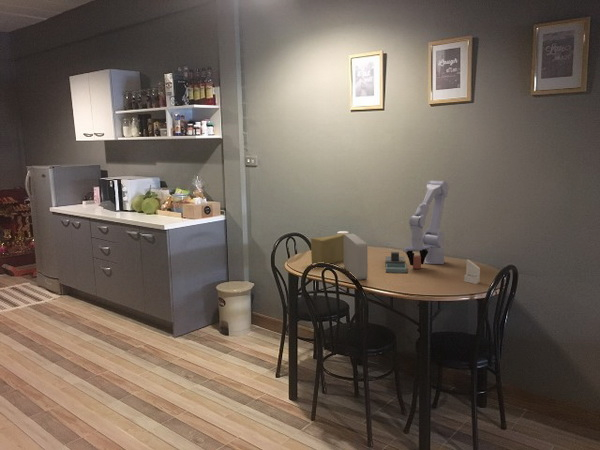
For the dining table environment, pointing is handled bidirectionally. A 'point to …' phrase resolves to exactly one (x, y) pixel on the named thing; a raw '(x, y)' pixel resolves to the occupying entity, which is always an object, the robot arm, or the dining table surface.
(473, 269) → the white wedge bracket
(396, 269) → the tray
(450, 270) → the dining table surface
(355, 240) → the tall light grey box
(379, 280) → the dining table surface
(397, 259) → the switch
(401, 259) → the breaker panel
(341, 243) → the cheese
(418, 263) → the block
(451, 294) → the dining table surface
